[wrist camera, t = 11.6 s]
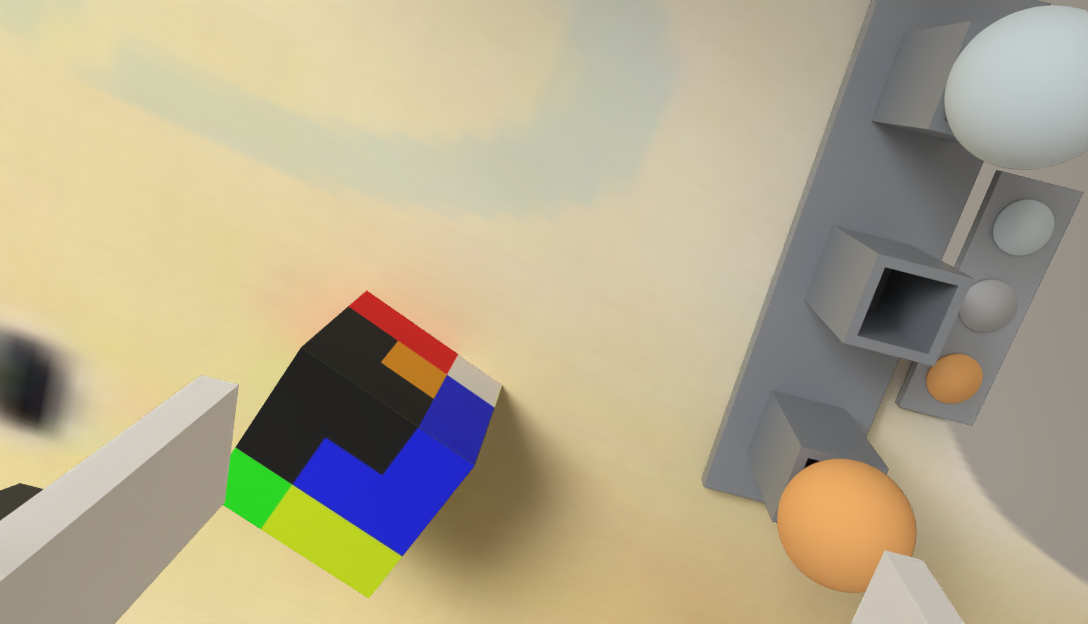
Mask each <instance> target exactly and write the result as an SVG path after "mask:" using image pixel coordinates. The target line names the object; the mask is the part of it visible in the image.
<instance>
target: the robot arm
mask: <svg viewBox="0 0 1088 624" xmlns="http://www.w3.org/2000/svg"><path fill="white" fill-rule="evenodd" d="M238 386H239V385H238V384H234V383H230V382H226V381H222V380H219V379H215V378H211V377H207V376H203V375H201V376H199V377H198V378H196V379H195V380H194V381H192V382H191V383H189V384H188V385H187V386H185V387H184V388H183V389H181V390H180V391H178V392H177V393H176V394H174V395H173V396H172V397H170V398H169V399H167V400H166V401H165V402H163V403H162V404H161V405H159V406H158V407H156V408H155V409H154V410H152V411H151V412H150V413H148V414H147V415H145V416H144V417H143V418H141V419H140V420H138V421H137V422H136V423H134V424H133V425H132V426H130V427H129V428H127V429H126V430H125V431H123V432H122V433H121V434H119V435H118V436H116V437H115V438H114V439H112V440H111V441H110V442H108V443H107V444H105V445H104V446H103V447H101V448H100V449H99V450H97V451H96V452H94V453H93V454H92V455H90V456H89V457H87V458H86V459H85V460H83V461H82V462H81V463H79V464H78V465H76V466H75V467H74V468H72V469H71V470H70V471H68V472H67V473H65V474H64V475H63V476H61V477H60V478H59V479H57V480H56V481H54V482H53V483H52V484H50V485H49V486H48V487H46V488H45V489H41V488H37V487H33V486H29V485H25V484H21V483H19V484H17V485H14V486H11V487H9V488H6V489H3V490H0V624H115V623H116V622H117V621H118V620H119V618H120V617H121V616H122V615H123V614H124V613H125V612H126V611H127V610H128V609H129V607H130V606H131V605H132V604H133V603H134V602H135V601H136V600H137V599H138V598H139V596H140V595H141V594H142V593H143V592H144V591H145V590H146V589H147V588H148V586H149V585H150V584H151V583H152V582H153V581H154V580H155V579H156V578H157V577H158V575H159V574H160V573H161V572H162V571H163V570H164V569H165V568H166V567H167V566H168V564H169V563H170V562H171V561H172V560H173V559H174V558H175V557H176V556H177V554H178V553H179V552H180V551H181V550H182V549H183V548H184V547H185V546H186V545H187V543H188V542H189V541H190V540H191V539H192V538H193V537H194V536H195V535H196V534H197V532H198V531H199V530H200V529H201V528H202V527H203V526H204V525H205V524H206V522H207V521H208V520H209V519H210V518H211V517H212V516H213V515H214V514H215V513H216V511H217V510H218V509H219V508H220V507H221V506H222V505H223V504H224V503H225V497H226V489H227V480H228V472H229V463H230V454H231V446H232V437H233V429H234V420H235V412H236V403H237V395H238ZM851 624H965V623H964V622H963V620H962V619H961V617H960V616H959V614H958V613H957V611H956V610H955V608H954V607H953V605H952V604H951V602H950V601H949V599H948V598H947V596H946V595H945V593H944V592H943V590H942V589H941V587H940V586H939V584H938V583H937V581H936V580H935V578H934V576H933V575H932V573H931V572H930V570H929V569H928V567H927V566H926V564H925V563H924V561H923V560H921V559H917V558H913V557H909V556H905V555H901V554H898V553H894V552H890V551H886V550H885V551H884V553H883V555H882V557H881V559H880V562H879V564H878V566H877V568H876V570H875V572H874V575H873V577H872V579H871V581H870V583H869V585H868V588H867V590H866V592H865V594H864V596H863V598H862V601H861V603H860V605H859V607H858V609H857V611H856V614H855V616H854V618H853V620H852V622H851Z"/></svg>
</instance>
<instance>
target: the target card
mask: <svg viewBox="0 0 1088 624" xmlns="http://www.w3.org/2000/svg"><path fill="white" fill-rule="evenodd" d="M1082 195H1083V192H1081V191H1077V190H1073V189H1069V188H1065V187H1061V186H1057V185H1053V184H1050V183H1045V182H1042V181H1038V180H1033V179H1030V178H1026V177H1022V176H1018V175H1014V174H1010V173H1006V172H1002V171H998V170H996V172H995V174H994V177H993V179H992V181H991V184H990V186H989V189H988V191H987V193H986V195H985V197H984V200H983V202H982V204H981V207H980V209H979V211H978V213H977V216H976V218H975V220H974V223H973V225H972V227H971V230H970V232H969V234H968V236H967V239H966V241H965V244H964V246H963V248H962V250H961V253H960V255H959V257H958V260H957V262H956V264H955V266H954V268H955V269H957V270H959V271H961V272H963V273H965V274H967V275H969V276H970V277H972V278H974V279H973V281H972V283H971V286H970V288H969V290H968V292H967V295H966V297H965V299H964V301H963V303H962V306H961V308H960V310H959V312H958V315H957V317H956V319H955V321H954V324H953V326H952V328H951V330H950V333H949V335H948V337H947V339H946V342H945V344H944V346H943V348H942V351H941V353H940V355H939V357H938V360H937V362H936V364H935V366H931V365H927V364H923V363H919V362H915V361H913V363H912V365H911V368H910V370H909V372H908V374H907V377H906V379H905V381H904V384H903V386H902V388H901V391H900V393H899V395H898V397H897V400H896V402H895V403H896V404H897V405H898V406H899V407H901V408H905V409H909V410H913V411H917V412H921V413H925V414H928V415H932V416H936V417H940V418H944V419H948V420H952V421H956V422H959V423H963V424H967V425H971V426H973V424H974V421H975V419H976V417H977V415H978V413H979V411H980V409H981V406H982V405H983V402H984V400H985V398H986V396H987V394H988V392H989V390H990V388H991V385H992V384H993V382H994V380H995V377H996V375H997V373H998V371H999V369H1000V367H1001V365H1002V363H1003V361H1004V359H1005V356H1006V354H1007V352H1008V350H1009V348H1010V346H1011V344H1012V342H1013V340H1014V338H1015V335H1016V333H1017V331H1018V329H1019V327H1020V325H1021V323H1022V321H1023V319H1024V316H1025V314H1026V312H1027V310H1028V308H1029V306H1030V304H1031V302H1032V300H1033V298H1034V295H1035V293H1036V291H1037V289H1038V287H1039V285H1040V283H1041V281H1042V279H1043V277H1044V274H1045V273H1046V270H1047V268H1048V266H1049V264H1050V262H1051V260H1052V258H1053V256H1054V254H1055V252H1056V249H1057V247H1058V245H1059V243H1060V241H1061V239H1062V237H1063V235H1064V233H1065V231H1066V228H1067V226H1068V224H1069V222H1070V220H1071V218H1072V216H1073V214H1074V212H1075V210H1076V207H1077V205H1078V203H1079V201H1080V198H1081V197H1082Z"/></svg>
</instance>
